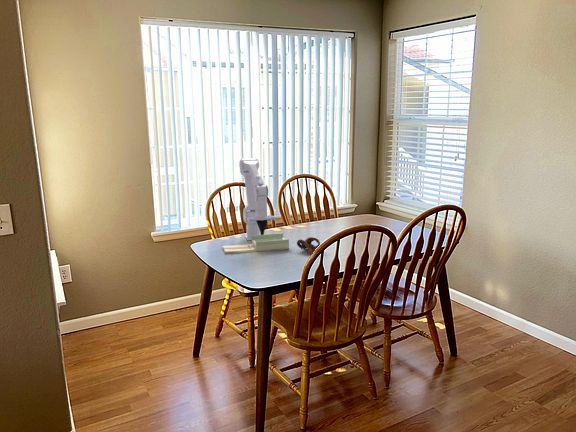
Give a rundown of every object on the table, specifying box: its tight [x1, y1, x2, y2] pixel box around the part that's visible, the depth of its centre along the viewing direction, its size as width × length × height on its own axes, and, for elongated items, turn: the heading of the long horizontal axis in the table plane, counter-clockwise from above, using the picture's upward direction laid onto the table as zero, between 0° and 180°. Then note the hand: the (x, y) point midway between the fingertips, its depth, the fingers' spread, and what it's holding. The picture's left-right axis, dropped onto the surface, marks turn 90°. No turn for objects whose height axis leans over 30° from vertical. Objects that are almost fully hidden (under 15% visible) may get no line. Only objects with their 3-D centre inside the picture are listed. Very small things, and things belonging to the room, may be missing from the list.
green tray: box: [251, 232, 290, 253], centre depth 254 cm, size 13×17×5 cm
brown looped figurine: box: [296, 236, 321, 255], centre depth 246 cm, size 12×10×8 cm
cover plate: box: [222, 243, 257, 255], centre depth 251 cm, size 11×15×2 cm
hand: (262, 234), depth 252 cm, fingers closed
